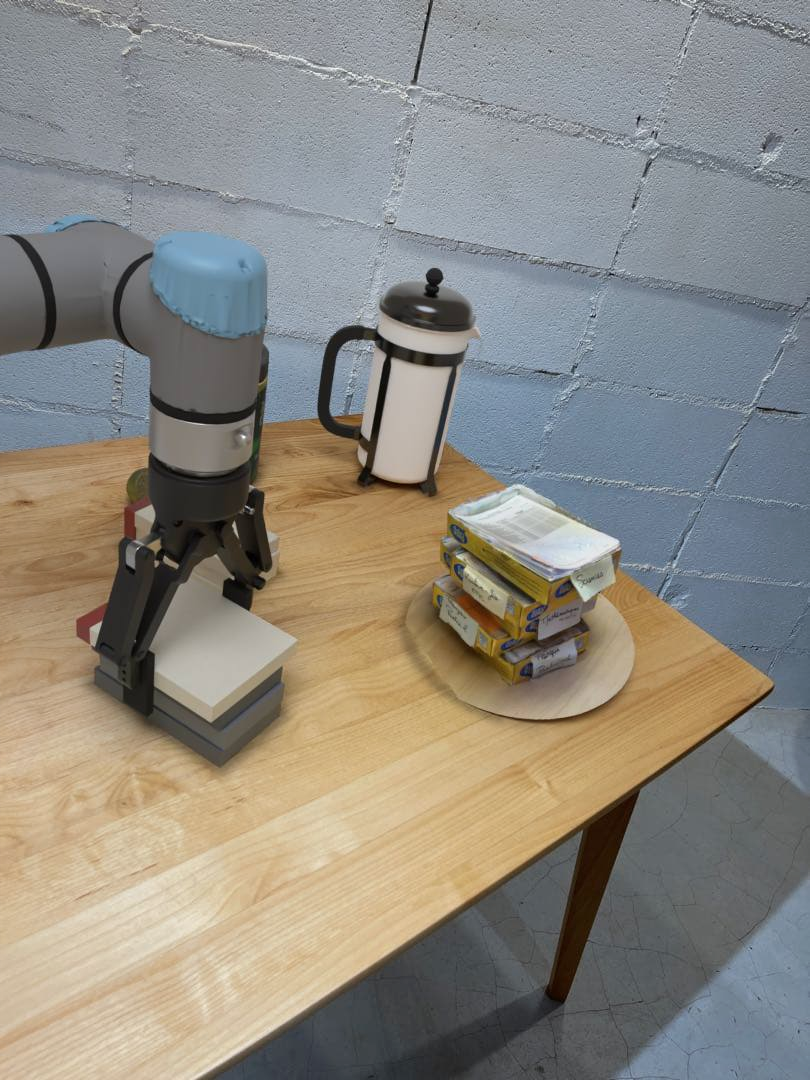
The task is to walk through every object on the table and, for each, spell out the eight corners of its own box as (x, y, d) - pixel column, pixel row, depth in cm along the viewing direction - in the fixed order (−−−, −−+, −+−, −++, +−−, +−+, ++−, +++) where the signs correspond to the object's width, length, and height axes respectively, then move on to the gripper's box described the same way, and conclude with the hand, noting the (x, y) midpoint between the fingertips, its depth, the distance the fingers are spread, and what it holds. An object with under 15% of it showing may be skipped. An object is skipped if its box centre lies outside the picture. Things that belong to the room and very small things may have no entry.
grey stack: (92, 686, 74) (90, 630, 70) (158, 643, 80) (160, 590, 77) (219, 771, 69) (224, 715, 65) (280, 718, 75) (287, 664, 71)
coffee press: (393, 440, 128) (430, 246, 113) (465, 487, 120) (517, 283, 104) (305, 461, 117) (333, 249, 101) (378, 515, 108) (421, 292, 93)
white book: (76, 636, 69) (75, 619, 68) (171, 581, 78) (172, 565, 77) (210, 723, 64) (211, 707, 63) (296, 654, 73) (299, 639, 72)
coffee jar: (254, 494, 107) (267, 360, 97) (192, 485, 106) (200, 350, 96) (261, 460, 115) (274, 333, 105) (204, 452, 114) (212, 323, 104)
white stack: (123, 547, 92) (123, 507, 89) (175, 521, 98) (177, 483, 96) (229, 608, 87) (232, 567, 84) (277, 576, 93) (282, 537, 90)
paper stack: (467, 746, 76) (512, 606, 67) (371, 588, 94) (397, 461, 86) (669, 704, 87) (730, 578, 78) (547, 569, 105) (586, 454, 96)
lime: (165, 496, 103) (166, 461, 100) (162, 517, 99) (163, 481, 96) (128, 494, 102) (128, 458, 99) (124, 514, 98) (123, 478, 95)
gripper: (113, 533, 51) (115, 772, 62) (332, 429, 69) (301, 629, 80) (31, 486, 53) (47, 724, 65) (262, 397, 71) (242, 596, 83)
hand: (188, 671), depth 73 cm, fingers closed on white book, 11 cm apart
